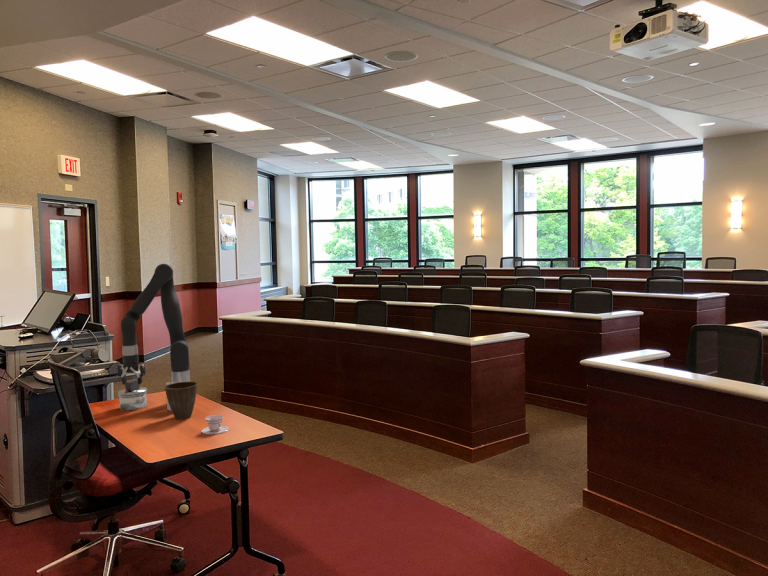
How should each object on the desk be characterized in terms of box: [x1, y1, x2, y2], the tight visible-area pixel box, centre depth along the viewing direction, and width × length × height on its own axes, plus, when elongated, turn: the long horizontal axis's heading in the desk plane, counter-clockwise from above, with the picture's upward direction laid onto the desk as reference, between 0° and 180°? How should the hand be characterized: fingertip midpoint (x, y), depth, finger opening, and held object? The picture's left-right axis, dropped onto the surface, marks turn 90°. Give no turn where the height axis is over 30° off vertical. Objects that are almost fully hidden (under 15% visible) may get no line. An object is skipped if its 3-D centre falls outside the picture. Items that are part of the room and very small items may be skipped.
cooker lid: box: [117, 378, 148, 396], centre depth 301 cm, size 14×14×6 cm
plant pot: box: [164, 381, 198, 420], centre depth 280 cm, size 15×15×16 cm
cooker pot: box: [118, 391, 148, 412], centre depth 302 cm, size 14×14×8 cm
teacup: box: [201, 414, 230, 436], centre depth 258 cm, size 12×12×6 cm
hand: (132, 384), depth 301 cm, fingers open, 8 cm apart
